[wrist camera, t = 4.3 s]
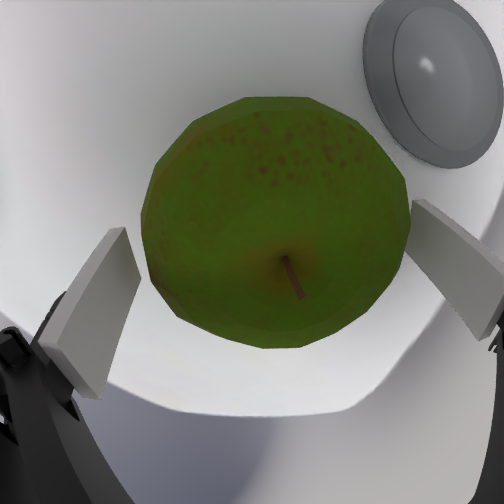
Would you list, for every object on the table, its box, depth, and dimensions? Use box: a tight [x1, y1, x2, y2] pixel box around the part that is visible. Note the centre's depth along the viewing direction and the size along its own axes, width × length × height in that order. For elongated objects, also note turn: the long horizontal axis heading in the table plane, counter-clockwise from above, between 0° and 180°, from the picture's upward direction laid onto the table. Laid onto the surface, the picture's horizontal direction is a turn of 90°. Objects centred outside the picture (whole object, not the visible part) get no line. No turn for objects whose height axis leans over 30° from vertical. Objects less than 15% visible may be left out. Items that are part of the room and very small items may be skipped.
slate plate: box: [363, 0, 504, 169], centre depth 13 cm, size 14×14×2 cm
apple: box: [141, 97, 411, 349], centre depth 13 cm, size 11×11×11 cm
